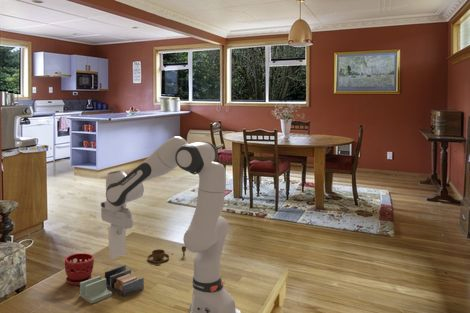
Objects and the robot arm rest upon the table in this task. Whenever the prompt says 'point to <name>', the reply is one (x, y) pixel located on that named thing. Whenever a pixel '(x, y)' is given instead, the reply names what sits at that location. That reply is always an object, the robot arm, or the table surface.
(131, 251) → the table surface
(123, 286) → the offcut rack
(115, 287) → the offcut lower
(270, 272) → the table surface
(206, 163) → the robot arm
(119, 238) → the tall sheet
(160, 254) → the place setting
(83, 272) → the plant pot
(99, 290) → the sheet stand
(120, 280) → the offcut upper
